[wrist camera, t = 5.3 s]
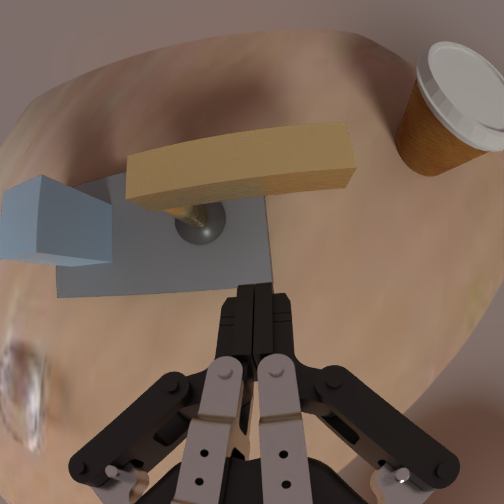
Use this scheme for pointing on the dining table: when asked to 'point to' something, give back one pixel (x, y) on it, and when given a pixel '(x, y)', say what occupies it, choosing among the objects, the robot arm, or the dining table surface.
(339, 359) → the dining table surface
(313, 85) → the dining table surface
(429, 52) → the disposable coffee cup
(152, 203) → the golden lever handle
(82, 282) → the plate
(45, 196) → the light blue block
